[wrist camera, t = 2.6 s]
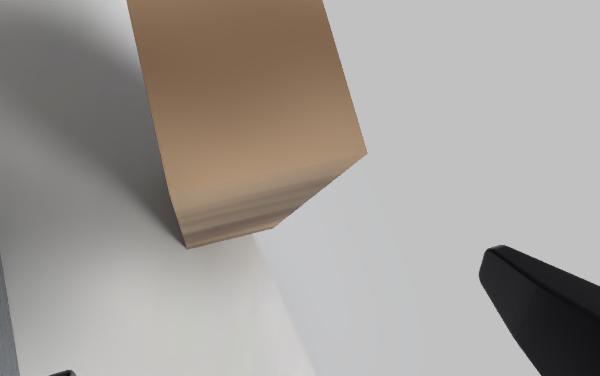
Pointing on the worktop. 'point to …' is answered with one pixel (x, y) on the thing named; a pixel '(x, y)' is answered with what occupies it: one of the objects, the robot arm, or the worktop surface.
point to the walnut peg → (244, 109)
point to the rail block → (6, 334)
